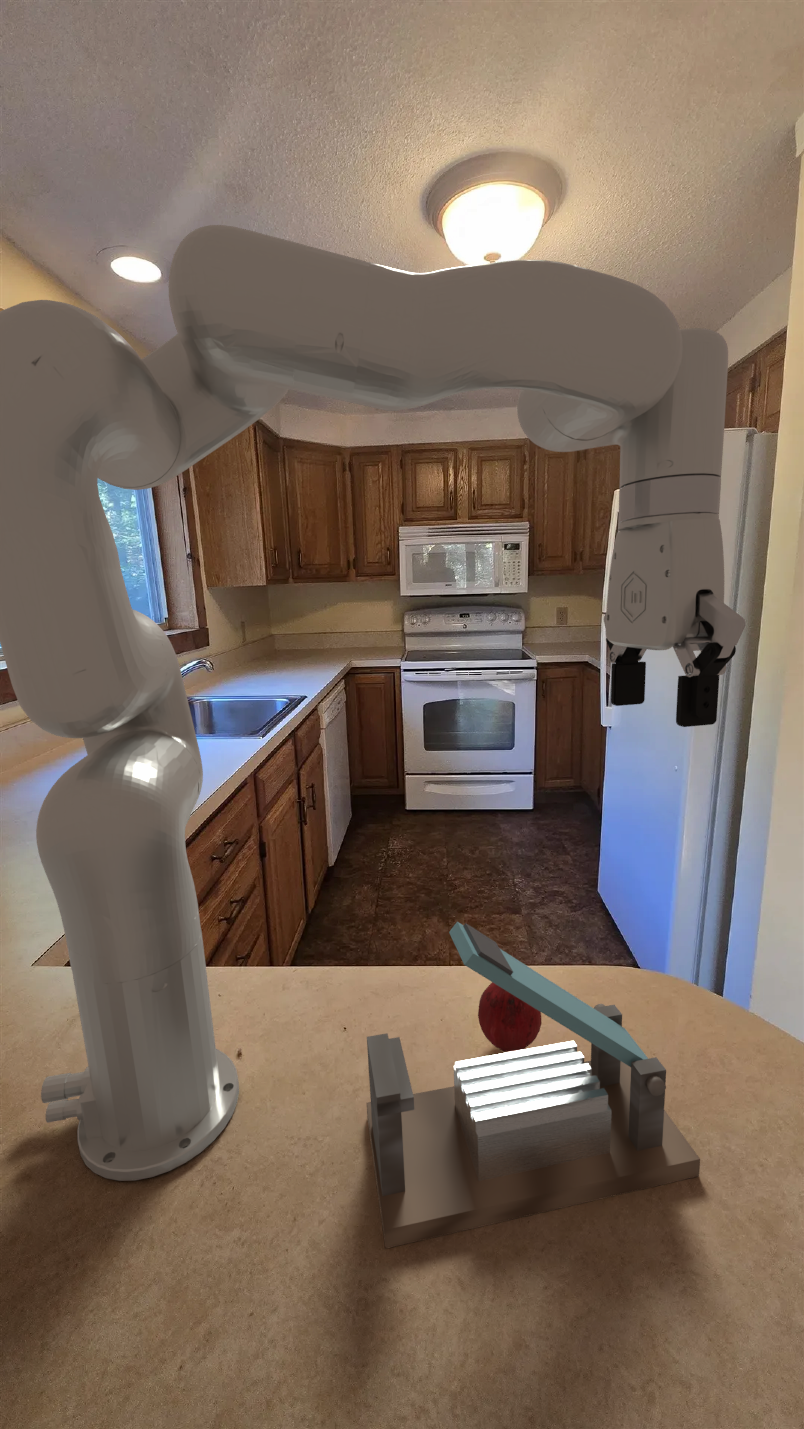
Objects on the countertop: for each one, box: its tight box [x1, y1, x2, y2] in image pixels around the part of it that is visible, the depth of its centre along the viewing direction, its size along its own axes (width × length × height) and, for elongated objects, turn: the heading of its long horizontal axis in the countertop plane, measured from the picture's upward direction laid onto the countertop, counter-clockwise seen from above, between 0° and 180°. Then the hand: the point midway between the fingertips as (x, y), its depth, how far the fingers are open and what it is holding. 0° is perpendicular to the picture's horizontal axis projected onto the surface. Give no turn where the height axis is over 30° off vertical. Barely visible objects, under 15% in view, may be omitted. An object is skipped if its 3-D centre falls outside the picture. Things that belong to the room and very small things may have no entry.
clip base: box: [366, 1003, 701, 1249], centre depth 44 cm, size 23×10×10 cm, turn 100°
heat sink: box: [453, 1040, 611, 1181], centre depth 44 cm, size 10×6×4 cm, turn 100°
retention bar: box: [449, 921, 649, 1067], centre depth 43 cm, size 18×4×1 cm
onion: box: [477, 982, 543, 1052], centre depth 54 cm, size 6×6×8 cm
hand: (658, 713), depth 51 cm, fingers open, 9 cm apart
